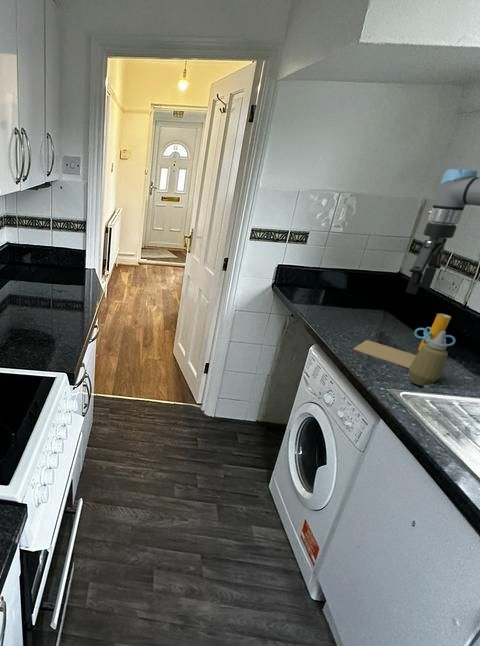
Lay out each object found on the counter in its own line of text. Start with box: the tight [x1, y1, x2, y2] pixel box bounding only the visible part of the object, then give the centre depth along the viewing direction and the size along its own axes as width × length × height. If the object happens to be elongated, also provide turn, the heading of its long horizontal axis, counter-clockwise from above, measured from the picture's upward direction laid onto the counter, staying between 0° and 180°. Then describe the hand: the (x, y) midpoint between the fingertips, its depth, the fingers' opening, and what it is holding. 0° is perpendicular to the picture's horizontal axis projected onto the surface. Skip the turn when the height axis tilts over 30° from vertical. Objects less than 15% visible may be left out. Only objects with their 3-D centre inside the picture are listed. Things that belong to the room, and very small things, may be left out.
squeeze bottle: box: [408, 330, 449, 387], centre depth 128 cm, size 8×8×18 cm
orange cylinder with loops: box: [413, 313, 457, 352], centre depth 151 cm, size 12×10×15 cm
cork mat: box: [352, 339, 417, 369], centre depth 151 cm, size 18×14×1 cm
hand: (417, 290), depth 135 cm, fingers open, 13 cm apart
